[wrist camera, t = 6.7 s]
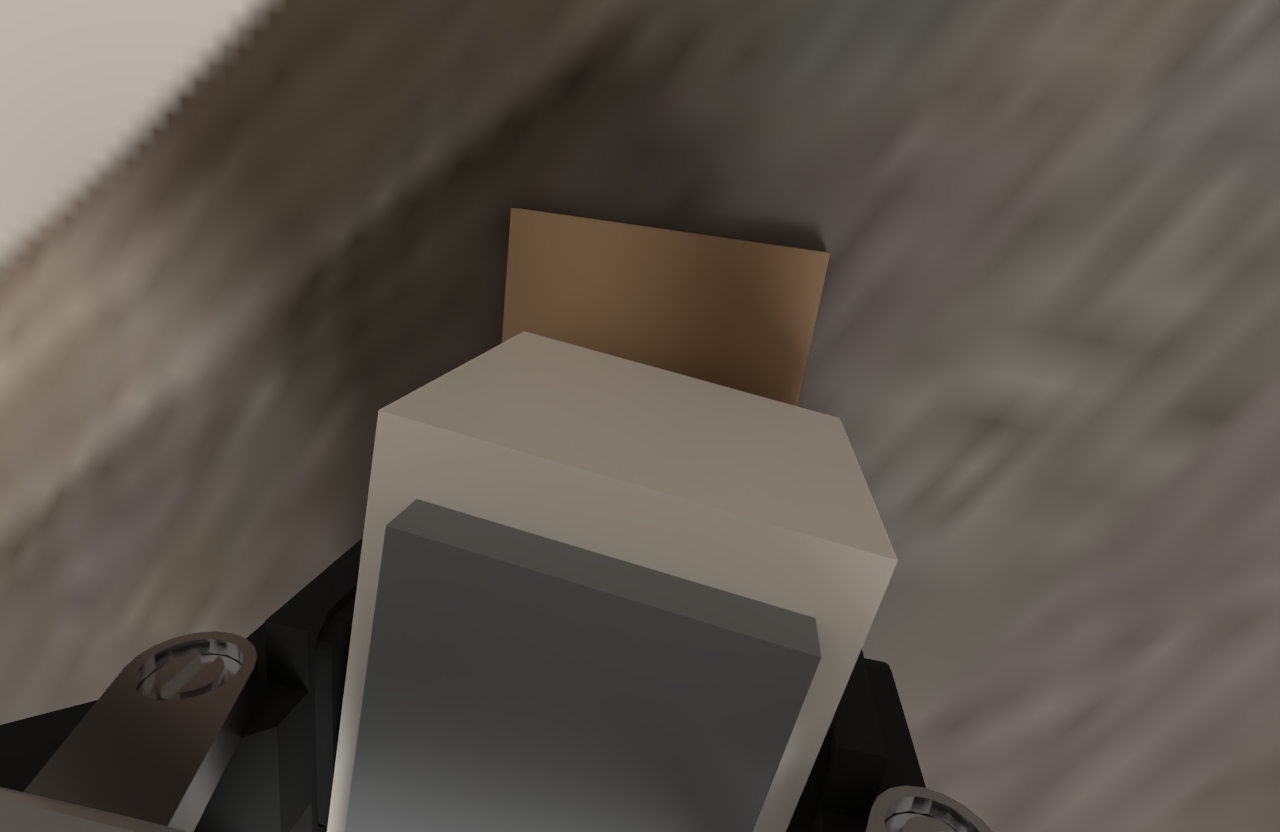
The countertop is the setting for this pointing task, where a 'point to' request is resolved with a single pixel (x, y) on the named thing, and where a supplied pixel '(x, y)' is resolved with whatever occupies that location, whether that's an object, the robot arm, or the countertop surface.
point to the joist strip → (667, 298)
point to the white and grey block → (600, 601)
